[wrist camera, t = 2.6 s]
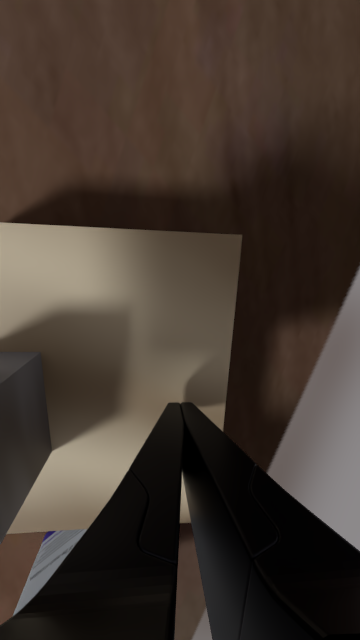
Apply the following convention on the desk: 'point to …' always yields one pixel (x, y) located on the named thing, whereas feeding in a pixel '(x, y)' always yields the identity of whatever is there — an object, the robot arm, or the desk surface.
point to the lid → (102, 358)
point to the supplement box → (48, 561)
